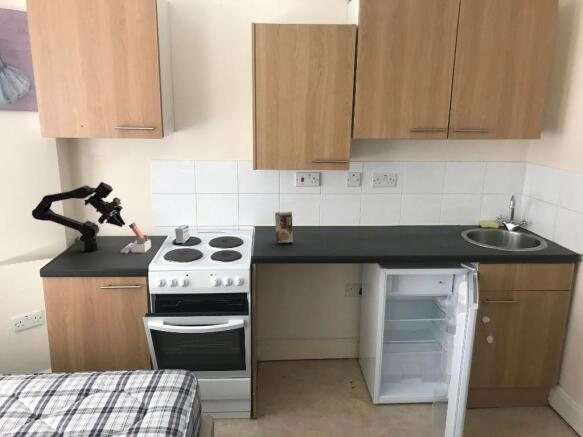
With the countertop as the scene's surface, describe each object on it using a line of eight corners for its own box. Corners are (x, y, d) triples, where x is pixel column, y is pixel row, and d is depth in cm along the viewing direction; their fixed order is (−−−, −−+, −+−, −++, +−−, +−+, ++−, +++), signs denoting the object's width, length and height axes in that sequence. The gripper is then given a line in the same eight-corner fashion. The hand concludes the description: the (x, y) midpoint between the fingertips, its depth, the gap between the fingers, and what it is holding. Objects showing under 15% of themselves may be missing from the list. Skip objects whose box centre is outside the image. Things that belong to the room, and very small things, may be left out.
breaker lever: (140, 242, 232) (128, 225, 230) (142, 240, 235) (131, 224, 233) (143, 240, 231) (131, 223, 229) (145, 238, 235) (134, 222, 233)
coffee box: (292, 240, 245) (292, 211, 241) (293, 244, 239) (292, 214, 235) (276, 240, 245) (275, 212, 241) (275, 244, 239) (275, 214, 235)
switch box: (131, 252, 230) (130, 239, 228) (138, 247, 239) (136, 234, 237) (145, 252, 230) (143, 239, 228) (151, 246, 239) (149, 234, 237)
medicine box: (183, 244, 242) (182, 228, 240) (176, 244, 243) (174, 228, 241) (189, 240, 249) (188, 225, 247) (182, 239, 250) (181, 224, 248)
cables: (127, 254, 227) (126, 251, 227) (119, 254, 228) (118, 251, 227) (137, 245, 242) (137, 242, 241) (130, 245, 242) (130, 242, 242)
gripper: (101, 197, 218) (126, 219, 221) (117, 190, 237) (139, 210, 239) (87, 213, 221) (112, 234, 223) (104, 205, 239) (126, 224, 241)
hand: (123, 225), depth 231 cm, fingers open, 3 cm apart
